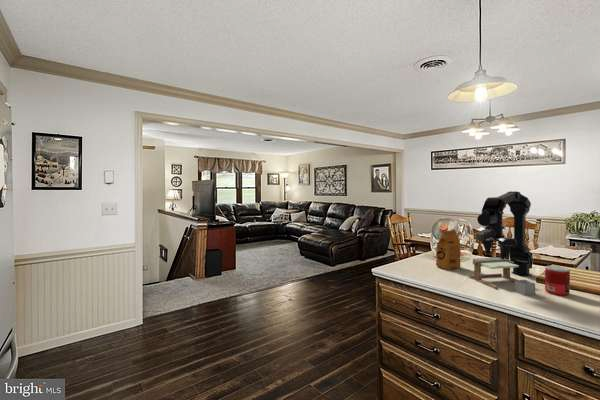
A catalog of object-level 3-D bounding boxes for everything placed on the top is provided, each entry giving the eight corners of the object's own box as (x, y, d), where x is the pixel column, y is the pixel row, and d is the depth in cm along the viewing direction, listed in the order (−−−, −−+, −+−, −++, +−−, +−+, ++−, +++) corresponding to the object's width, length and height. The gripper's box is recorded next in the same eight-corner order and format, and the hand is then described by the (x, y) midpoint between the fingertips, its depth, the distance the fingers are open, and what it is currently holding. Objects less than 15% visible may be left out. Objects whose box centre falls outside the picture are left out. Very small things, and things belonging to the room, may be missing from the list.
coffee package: (433, 266, 171) (432, 229, 171) (449, 263, 176) (448, 227, 175) (447, 270, 162) (446, 231, 161) (463, 267, 166) (463, 229, 166)
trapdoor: (472, 264, 148) (472, 258, 148) (497, 262, 150) (497, 257, 150) (491, 271, 136) (491, 265, 136) (518, 269, 137) (518, 263, 137)
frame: (468, 277, 149) (468, 259, 148) (501, 275, 151) (501, 257, 150) (494, 289, 132) (494, 268, 132) (530, 286, 134) (530, 265, 134)
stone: (524, 290, 129) (524, 279, 129) (535, 294, 124) (535, 283, 124) (514, 291, 129) (514, 280, 129) (524, 295, 124) (524, 284, 124)
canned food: (571, 297, 120) (572, 271, 120) (546, 294, 124) (546, 268, 124) (567, 291, 127) (567, 266, 126) (543, 288, 131) (543, 264, 130)
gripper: (466, 222, 145) (466, 253, 146) (493, 227, 127) (493, 262, 128) (487, 221, 146) (487, 252, 147) (517, 226, 128) (517, 261, 128)
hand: (495, 256), depth 137 cm, fingers open, 9 cm apart
